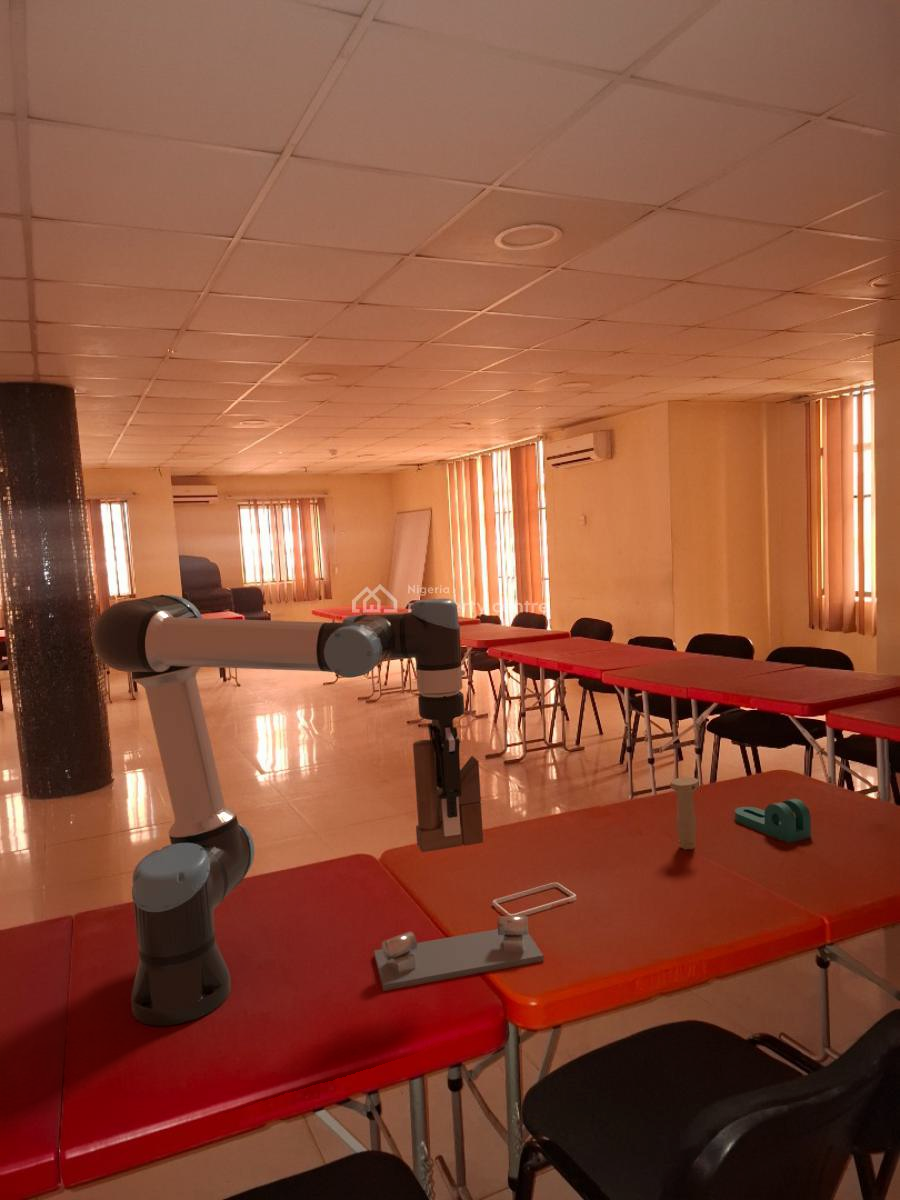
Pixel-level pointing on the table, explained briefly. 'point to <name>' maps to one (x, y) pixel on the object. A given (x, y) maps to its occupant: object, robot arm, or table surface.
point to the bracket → (778, 820)
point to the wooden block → (428, 800)
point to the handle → (685, 810)
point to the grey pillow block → (400, 952)
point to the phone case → (534, 890)
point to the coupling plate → (457, 959)
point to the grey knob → (513, 932)
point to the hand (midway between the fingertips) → (449, 829)
